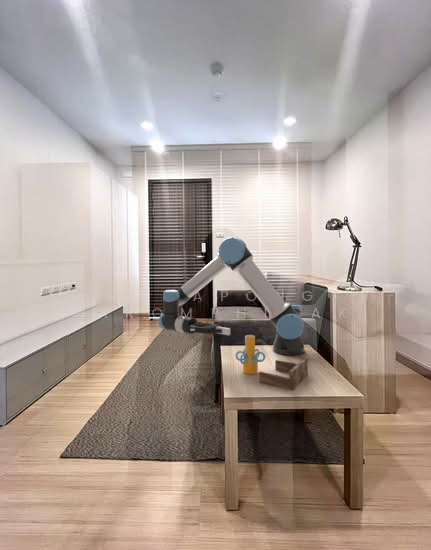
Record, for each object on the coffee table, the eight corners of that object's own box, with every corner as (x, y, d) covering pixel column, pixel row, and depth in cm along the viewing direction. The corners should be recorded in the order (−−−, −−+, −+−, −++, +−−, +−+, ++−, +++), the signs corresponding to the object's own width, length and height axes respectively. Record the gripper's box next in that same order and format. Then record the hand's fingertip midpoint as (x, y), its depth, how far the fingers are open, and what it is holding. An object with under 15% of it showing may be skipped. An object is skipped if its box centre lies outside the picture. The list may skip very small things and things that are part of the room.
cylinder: (265, 368, 135) (265, 333, 134) (264, 377, 125) (264, 340, 123) (237, 366, 137) (237, 332, 136) (234, 375, 127) (233, 339, 126)
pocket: (276, 369, 133) (276, 352, 133) (307, 375, 126) (307, 358, 125) (259, 382, 120) (258, 364, 119) (292, 390, 112) (292, 371, 112)
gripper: (195, 329, 154) (237, 336, 141) (177, 335, 143) (221, 344, 130) (195, 314, 154) (237, 320, 140) (177, 319, 143) (220, 326, 130)
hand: (229, 331), depth 135 cm, fingers closed
